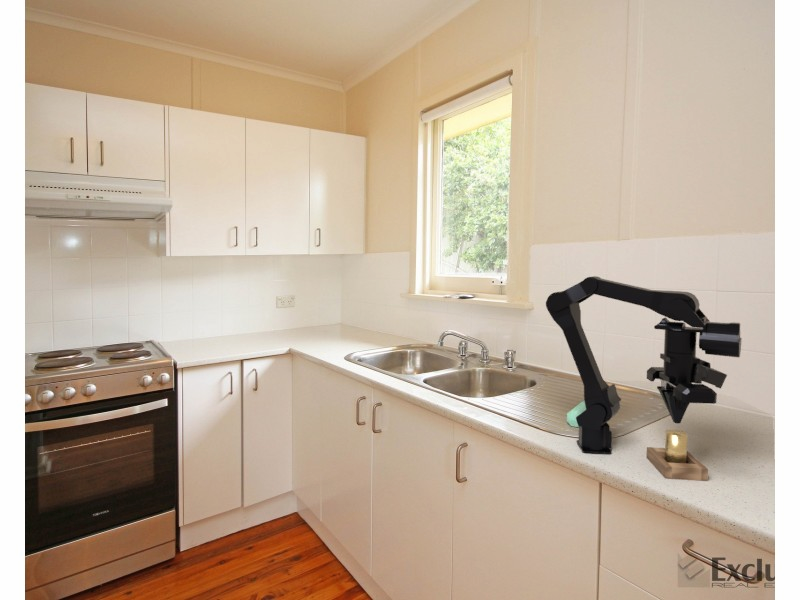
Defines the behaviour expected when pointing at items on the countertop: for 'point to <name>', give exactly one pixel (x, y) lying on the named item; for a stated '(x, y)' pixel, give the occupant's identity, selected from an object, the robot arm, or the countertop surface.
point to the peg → (675, 446)
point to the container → (575, 414)
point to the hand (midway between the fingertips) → (676, 422)
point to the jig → (677, 466)
